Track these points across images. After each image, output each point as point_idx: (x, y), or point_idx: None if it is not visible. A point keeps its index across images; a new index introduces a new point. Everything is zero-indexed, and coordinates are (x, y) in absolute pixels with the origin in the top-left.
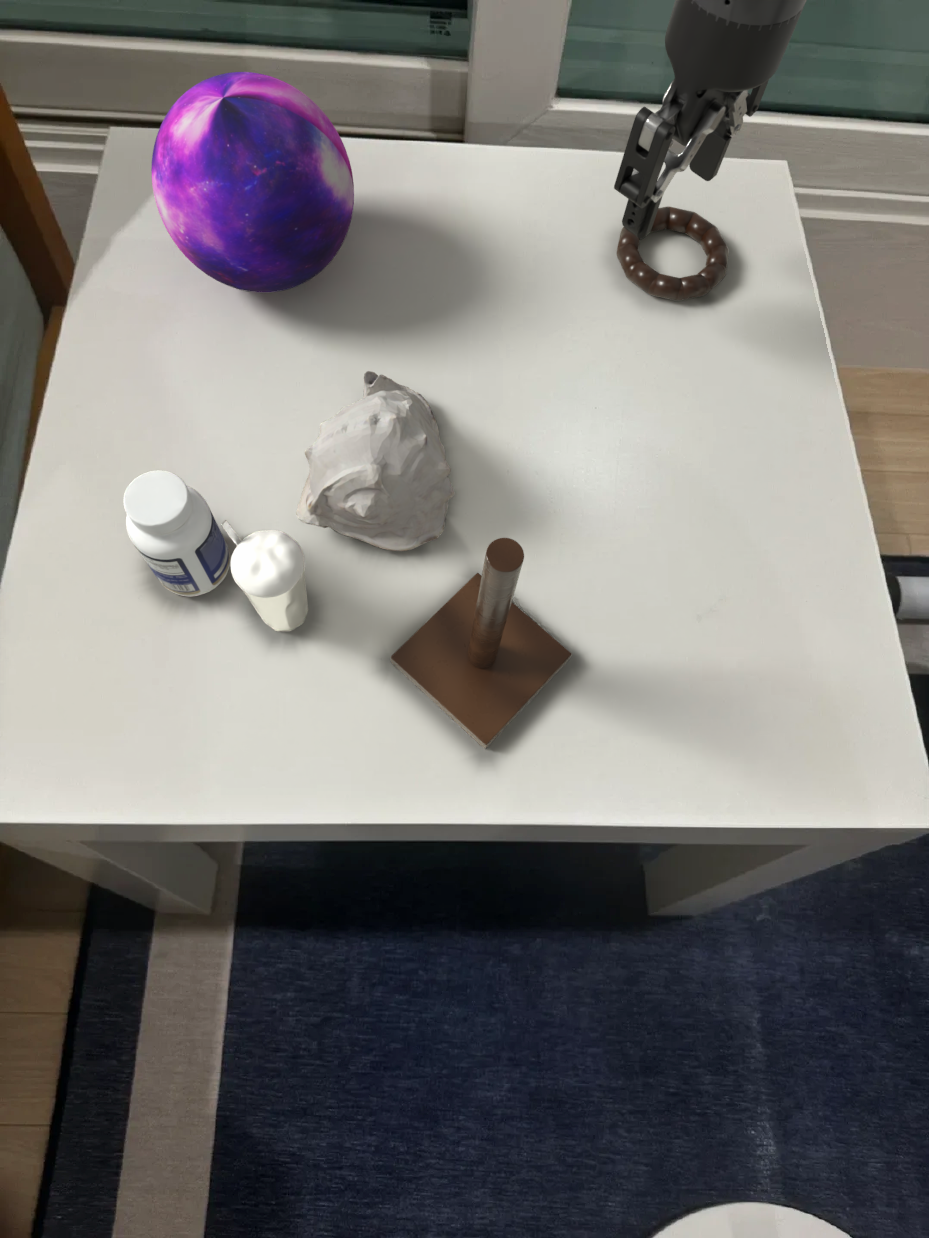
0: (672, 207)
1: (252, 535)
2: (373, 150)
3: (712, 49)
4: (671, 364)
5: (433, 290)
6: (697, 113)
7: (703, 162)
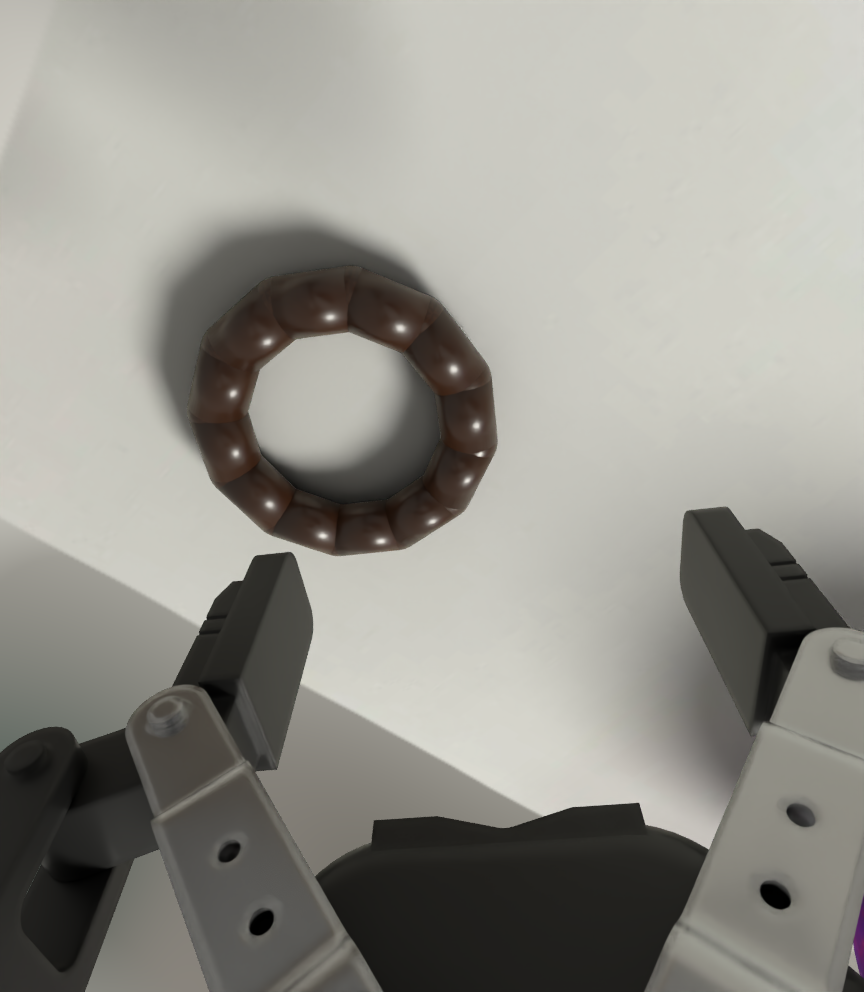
0: (262, 526)
1: None
2: None
3: None
4: (616, 135)
5: None
6: None
7: (292, 625)
